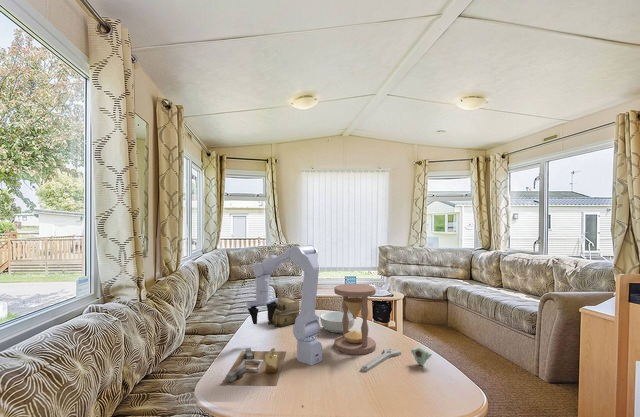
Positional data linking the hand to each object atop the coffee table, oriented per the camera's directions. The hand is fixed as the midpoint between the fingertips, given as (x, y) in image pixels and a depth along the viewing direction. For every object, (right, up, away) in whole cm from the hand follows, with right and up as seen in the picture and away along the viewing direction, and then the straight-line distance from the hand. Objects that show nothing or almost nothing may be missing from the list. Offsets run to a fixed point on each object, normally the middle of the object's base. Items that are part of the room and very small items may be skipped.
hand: (262, 322), depth 147 cm
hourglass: (+40, -10, -1) cm, 41 cm away
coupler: (+8, -8, -28) cm, 30 cm away
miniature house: (+5, -11, +32) cm, 35 cm away
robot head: (+62, -10, -20) cm, 66 cm away
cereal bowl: (+33, -11, +20) cm, 40 cm away
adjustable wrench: (+48, -10, -15) cm, 51 cm away
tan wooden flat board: (+2, -9, -24) cm, 26 cm away
